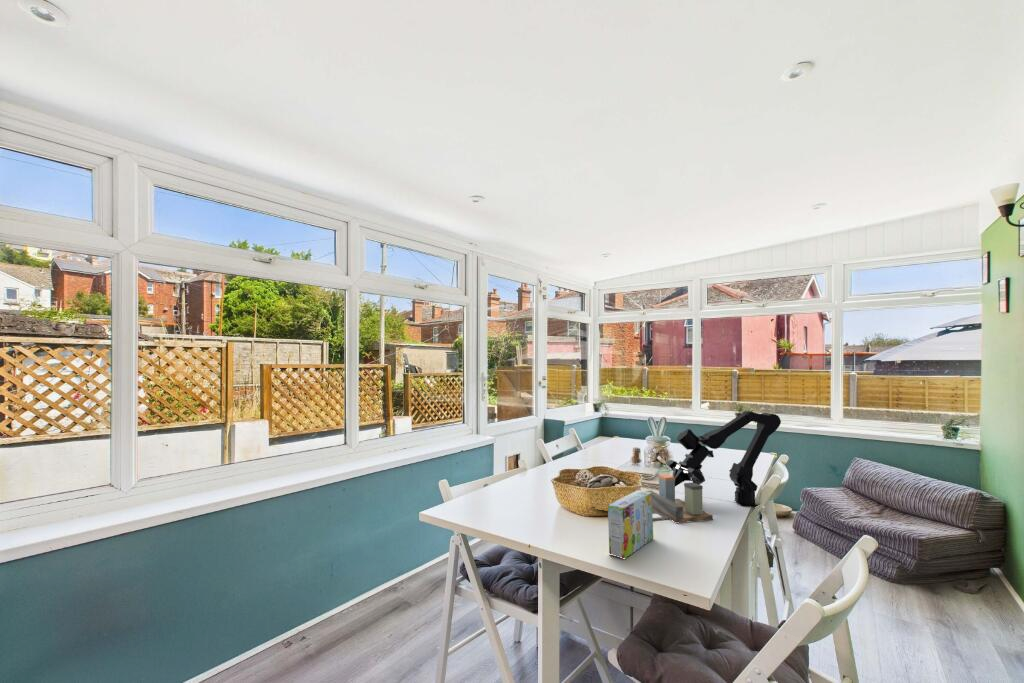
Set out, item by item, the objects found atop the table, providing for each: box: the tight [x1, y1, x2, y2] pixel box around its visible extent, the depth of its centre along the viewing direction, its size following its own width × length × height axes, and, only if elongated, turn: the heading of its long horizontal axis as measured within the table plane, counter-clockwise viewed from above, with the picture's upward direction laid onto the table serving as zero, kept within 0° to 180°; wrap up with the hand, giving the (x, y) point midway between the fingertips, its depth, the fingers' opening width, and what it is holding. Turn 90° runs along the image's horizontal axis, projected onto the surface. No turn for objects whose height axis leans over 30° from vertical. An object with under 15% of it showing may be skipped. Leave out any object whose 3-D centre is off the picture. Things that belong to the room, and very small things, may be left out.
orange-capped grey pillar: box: [658, 473, 676, 502], centre depth 184 cm, size 4×5×10 cm
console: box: [646, 490, 714, 523], centre depth 177 cm, size 15×22×6 cm
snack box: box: [607, 489, 654, 559], centre depth 144 cm, size 21×6×15 cm, turn 141°
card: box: [652, 508, 670, 521], centre depth 175 cm, size 8×14×1 cm, turn 13°
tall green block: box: [683, 481, 704, 515], centre depth 171 cm, size 4×5×10 cm
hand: (671, 486), depth 185 cm, fingers closed, pressing on orange-capped grey pillar
